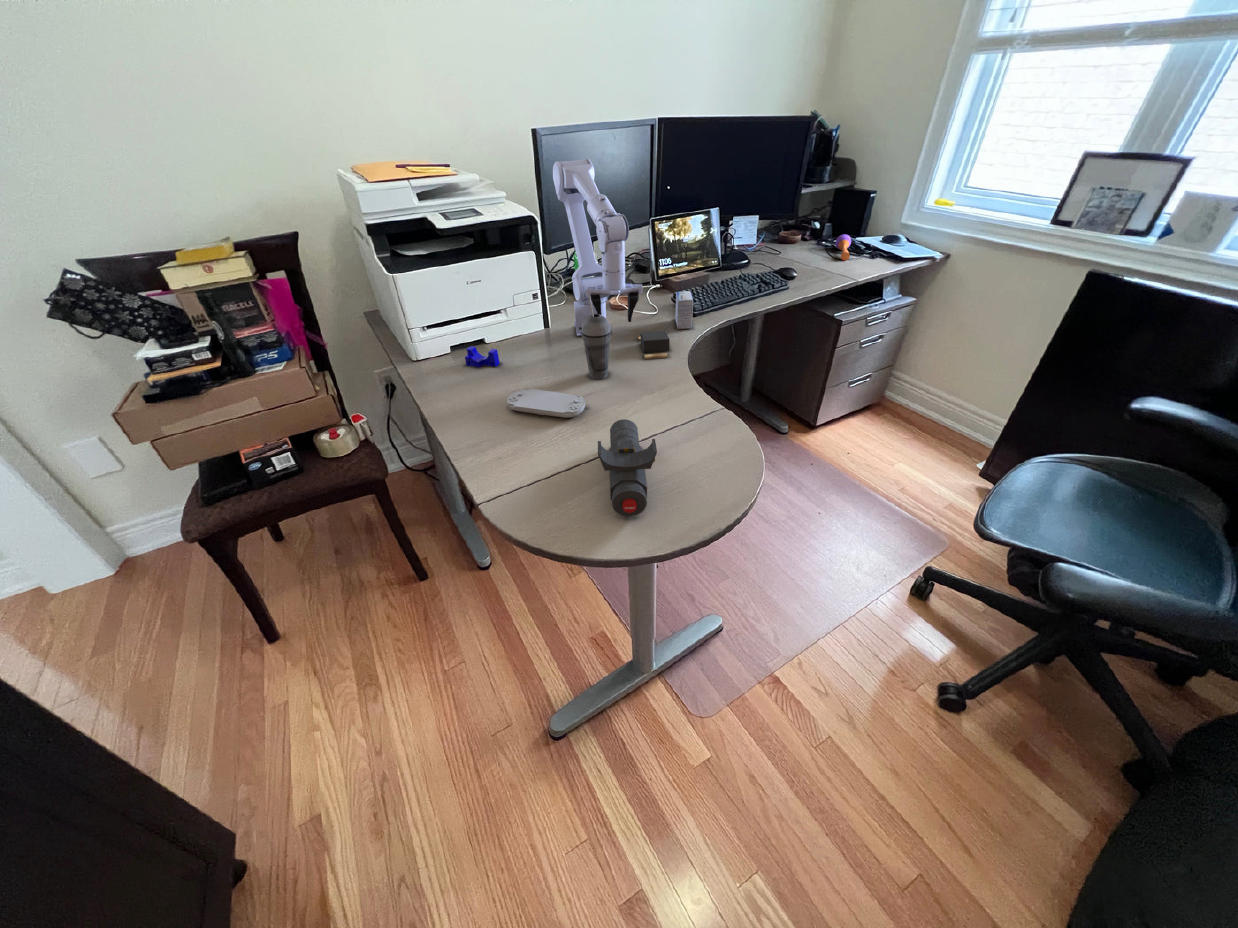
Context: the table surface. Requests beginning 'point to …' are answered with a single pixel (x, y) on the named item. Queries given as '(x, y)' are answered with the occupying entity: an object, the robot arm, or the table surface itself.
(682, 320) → the medicine box
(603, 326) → the beverage cup
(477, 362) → the cable holder
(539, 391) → the game console
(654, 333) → the black block
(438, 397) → the table surface
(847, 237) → the kendama
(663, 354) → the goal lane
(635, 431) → the laser sight
